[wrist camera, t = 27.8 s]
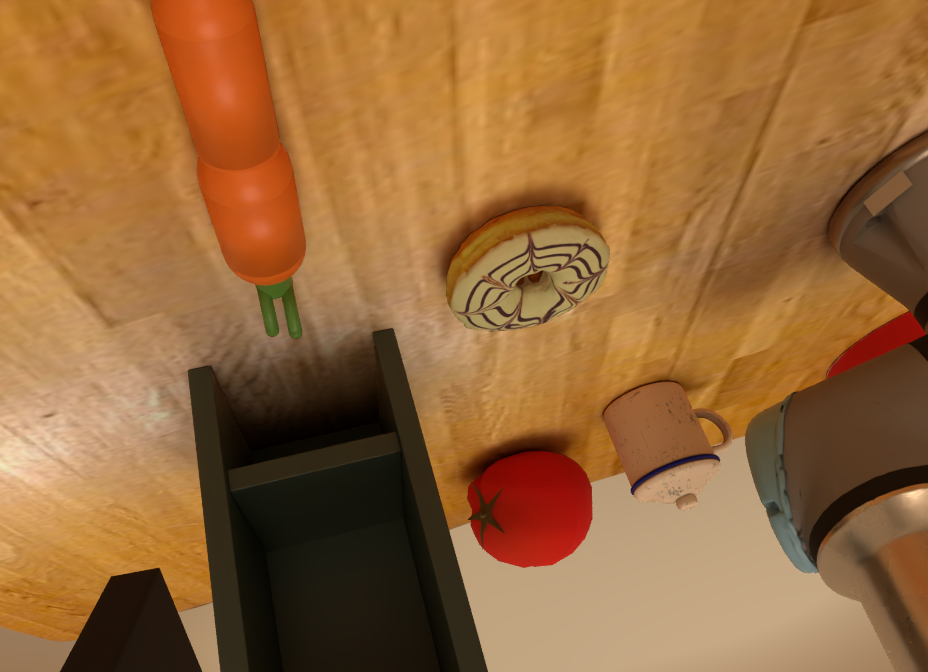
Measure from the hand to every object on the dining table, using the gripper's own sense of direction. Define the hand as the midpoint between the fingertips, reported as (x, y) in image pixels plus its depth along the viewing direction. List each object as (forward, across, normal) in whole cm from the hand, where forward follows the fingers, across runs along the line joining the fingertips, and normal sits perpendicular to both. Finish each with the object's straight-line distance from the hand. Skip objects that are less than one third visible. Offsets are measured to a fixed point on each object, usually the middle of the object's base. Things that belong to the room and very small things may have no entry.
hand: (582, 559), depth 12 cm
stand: (+43, -14, -17) cm, 48 cm away
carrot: (+25, -9, +7) cm, 28 cm away
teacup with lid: (+59, +17, -31) cm, 69 cm away
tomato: (+61, +2, -37) cm, 71 cm away
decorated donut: (+38, +3, -6) cm, 38 cm away
